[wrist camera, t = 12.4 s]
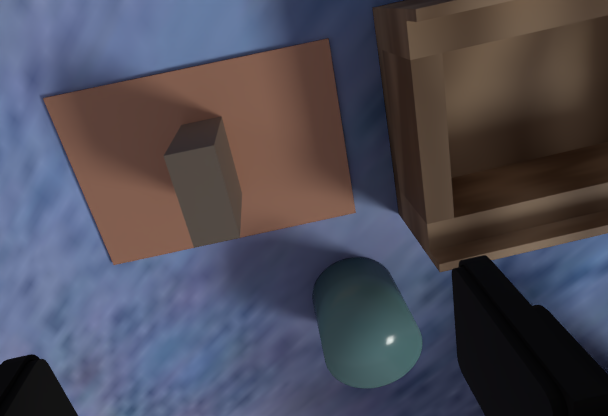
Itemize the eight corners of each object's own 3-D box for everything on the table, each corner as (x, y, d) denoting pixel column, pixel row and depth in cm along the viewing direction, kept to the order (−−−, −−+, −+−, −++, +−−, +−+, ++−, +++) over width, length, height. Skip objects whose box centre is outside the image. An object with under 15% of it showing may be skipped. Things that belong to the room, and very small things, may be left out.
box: (684, -63, 26) (837, -86, 19) (657, 154, 31) (768, 195, 25) (372, 7, 26) (415, 9, 19) (398, 213, 31) (439, 272, 24)
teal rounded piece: (304, 268, 32) (315, 322, 27) (389, 248, 32) (417, 299, 27) (320, 335, 34) (333, 397, 29) (398, 317, 35) (426, 375, 29)
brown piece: (326, 37, 27) (349, 48, 20) (353, 207, 31) (378, 258, 25) (48, 96, 26) (-14, 124, 20) (117, 258, 31) (83, 322, 25)
